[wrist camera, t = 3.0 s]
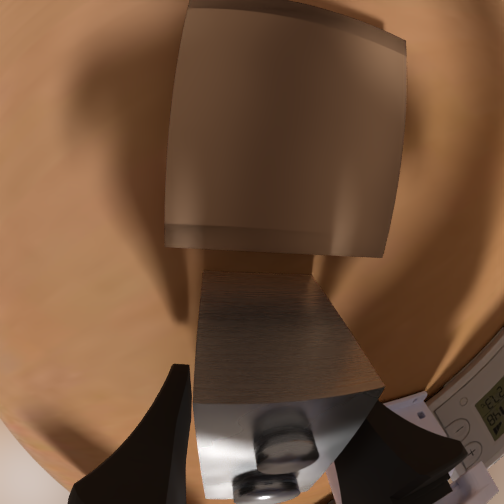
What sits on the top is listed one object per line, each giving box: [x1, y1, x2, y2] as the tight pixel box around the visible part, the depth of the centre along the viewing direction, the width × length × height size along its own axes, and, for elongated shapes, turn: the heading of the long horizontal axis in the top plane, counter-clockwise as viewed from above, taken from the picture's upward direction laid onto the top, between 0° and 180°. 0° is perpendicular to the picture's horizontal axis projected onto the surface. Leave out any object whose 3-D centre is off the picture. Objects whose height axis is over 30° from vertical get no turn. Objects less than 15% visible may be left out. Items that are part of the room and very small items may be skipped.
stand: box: [165, 0, 407, 258], centre depth 8 cm, size 8×9×2 cm
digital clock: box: [425, 327, 504, 482], centre depth 13 cm, size 16×9×11 cm, turn 113°
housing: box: [193, 271, 385, 504], centre depth 9 cm, size 4×8×7 cm, turn 174°
